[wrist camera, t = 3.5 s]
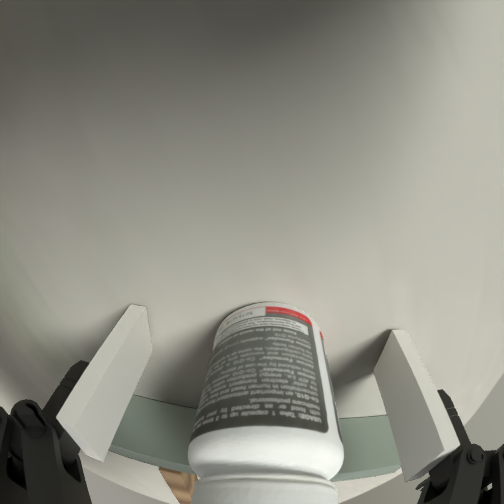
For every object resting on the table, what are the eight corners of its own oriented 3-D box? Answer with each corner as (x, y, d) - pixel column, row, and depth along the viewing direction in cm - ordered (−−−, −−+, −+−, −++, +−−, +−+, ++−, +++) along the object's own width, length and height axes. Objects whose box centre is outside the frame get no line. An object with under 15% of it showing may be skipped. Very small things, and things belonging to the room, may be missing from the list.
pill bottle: (194, 334, 12) (137, 510, 4) (278, 277, 11) (280, 512, 3) (262, 388, 13) (251, 540, 6) (341, 346, 12) (377, 521, 4)
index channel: (168, 437, 17) (159, 469, 14) (329, 452, 16) (332, 484, 14) (192, 498, 25) (188, 515, 22) (282, 507, 25) (282, 525, 22)
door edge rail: (116, 389, 15) (92, 436, 11) (392, 414, 14) (405, 462, 11) (121, 402, 15) (100, 447, 12) (383, 426, 15) (394, 472, 11)
